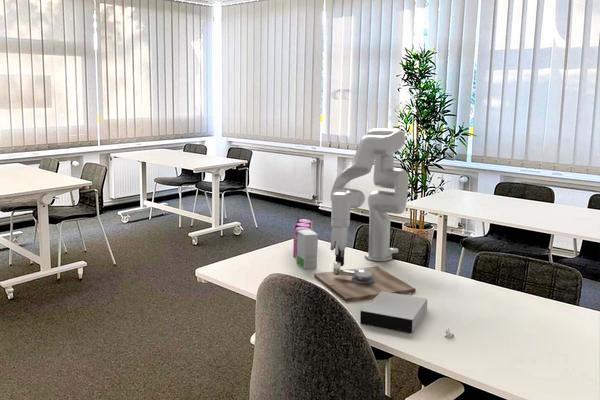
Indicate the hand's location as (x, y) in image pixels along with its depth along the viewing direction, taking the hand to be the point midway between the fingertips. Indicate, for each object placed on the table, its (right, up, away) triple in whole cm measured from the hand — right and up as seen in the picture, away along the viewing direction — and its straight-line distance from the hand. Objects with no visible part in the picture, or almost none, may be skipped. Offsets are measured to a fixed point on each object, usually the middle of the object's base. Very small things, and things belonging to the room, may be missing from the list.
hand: (339, 265), depth 237 cm
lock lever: (+5, -4, -5) cm, 8 cm away
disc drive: (+17, -14, -37) cm, 43 cm away
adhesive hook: (+32, -18, -53) cm, 65 cm away
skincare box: (-13, -2, +17) cm, 22 cm away
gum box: (-15, +2, +41) cm, 43 cm away
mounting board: (+9, -7, -6) cm, 13 cm away
